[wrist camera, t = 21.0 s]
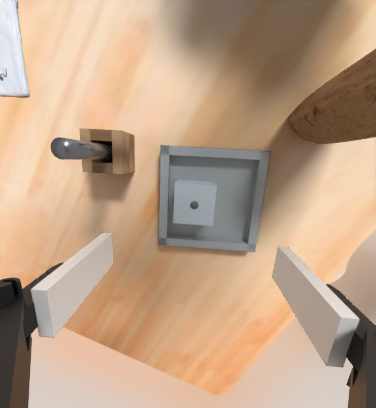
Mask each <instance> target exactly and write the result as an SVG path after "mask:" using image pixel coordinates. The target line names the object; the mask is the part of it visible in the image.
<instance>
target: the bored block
mask: <svg viewBox="0 0 376 408" xmlns="http://www.w3.org/2000/svg"><path fill="white" fill-rule="evenodd" d="M80 140H81V141H85V142H91V143H97V144H103V145H108V143H112V156H113V162H108V159H82V167H83V172H93V173H109V174H127V173H132V172H135V164H134V135H132V134H129V133H127V132H124V131H118V130H99V129H80Z"/></svg>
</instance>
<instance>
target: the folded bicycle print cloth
mask: <svg viewBox="0 0 376 408" xmlns="http://www.w3.org/2000/svg"><path fill="white" fill-rule="evenodd" d="M17 3H18V0H0V96H20V97H21V96H29V89H28V83H27V77H26V71H25V63H24V56H23V49H22V40H21V33H20V26H19V19H18V12H17V7H18V5H17Z"/></svg>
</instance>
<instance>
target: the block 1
mask: <svg viewBox="0 0 376 408" xmlns="http://www.w3.org/2000/svg"><path fill="white" fill-rule="evenodd" d="M216 190H217V186H216V184H215V183H214V182H208V181H193V180H178V181H177V182H176V183H175V190H174V213H173V223H179V224H192V225H206V226H213V221H214V211H215V201H216Z"/></svg>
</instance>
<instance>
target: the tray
mask: <svg viewBox="0 0 376 408" xmlns="http://www.w3.org/2000/svg"><path fill="white" fill-rule="evenodd" d="M270 152H271V151H257V150H239V149H221V148H202V147H184V146H166V145H161V158H160V207H159V245H168V246H182V247H195V248H208V249H222V250H235V251H248V252H255V249H256V243H257V236H258V230H259V223H260V217H261V210H262V204H263V197H264V191H265V184H266V178H267V171H268V165H269V158H270ZM178 180H193V181H208V182H214V183H215V184H216V186H217V190H216V201H215V211H214V221H213V226H206V225H192V224H179V223H173V213H174V190H175V183H176V182H177V181H178Z"/></svg>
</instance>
